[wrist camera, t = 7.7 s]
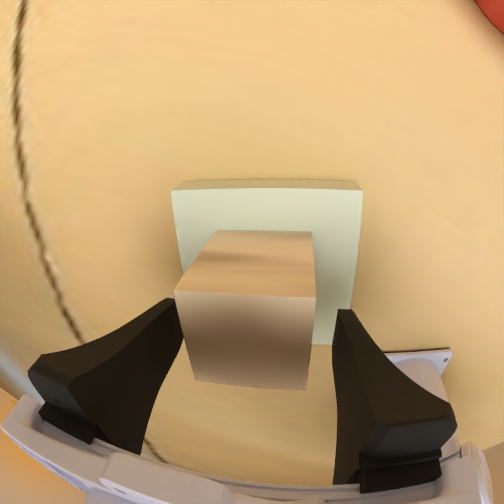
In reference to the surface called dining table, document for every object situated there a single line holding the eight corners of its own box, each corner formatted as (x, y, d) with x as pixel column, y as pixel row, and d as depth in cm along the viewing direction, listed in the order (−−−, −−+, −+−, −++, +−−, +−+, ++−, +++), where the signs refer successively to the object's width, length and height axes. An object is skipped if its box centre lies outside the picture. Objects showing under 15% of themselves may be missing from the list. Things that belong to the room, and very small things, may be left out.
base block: (339, 317, 20) (343, 345, 17) (207, 310, 22) (195, 335, 19) (353, 179, 16) (363, 190, 13) (190, 179, 18) (170, 190, 15)
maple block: (307, 310, 17) (305, 390, 11) (225, 306, 17) (195, 380, 12) (311, 231, 15) (316, 297, 9) (216, 229, 15) (173, 289, 10)
